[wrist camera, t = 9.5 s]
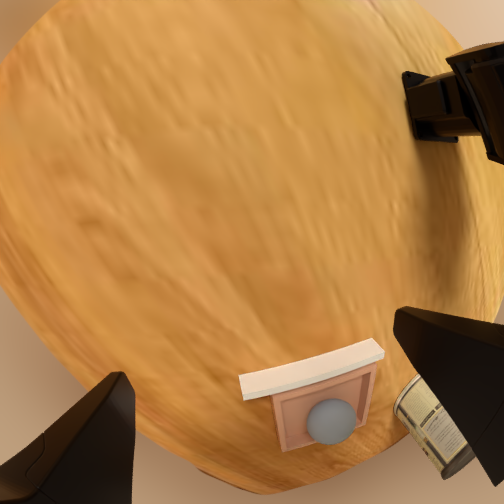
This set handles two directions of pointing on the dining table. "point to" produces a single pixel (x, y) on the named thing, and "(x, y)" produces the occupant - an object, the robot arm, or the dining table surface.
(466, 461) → the coffee can
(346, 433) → the ball
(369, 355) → the wall
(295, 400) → the dish
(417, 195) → the dining table surface
